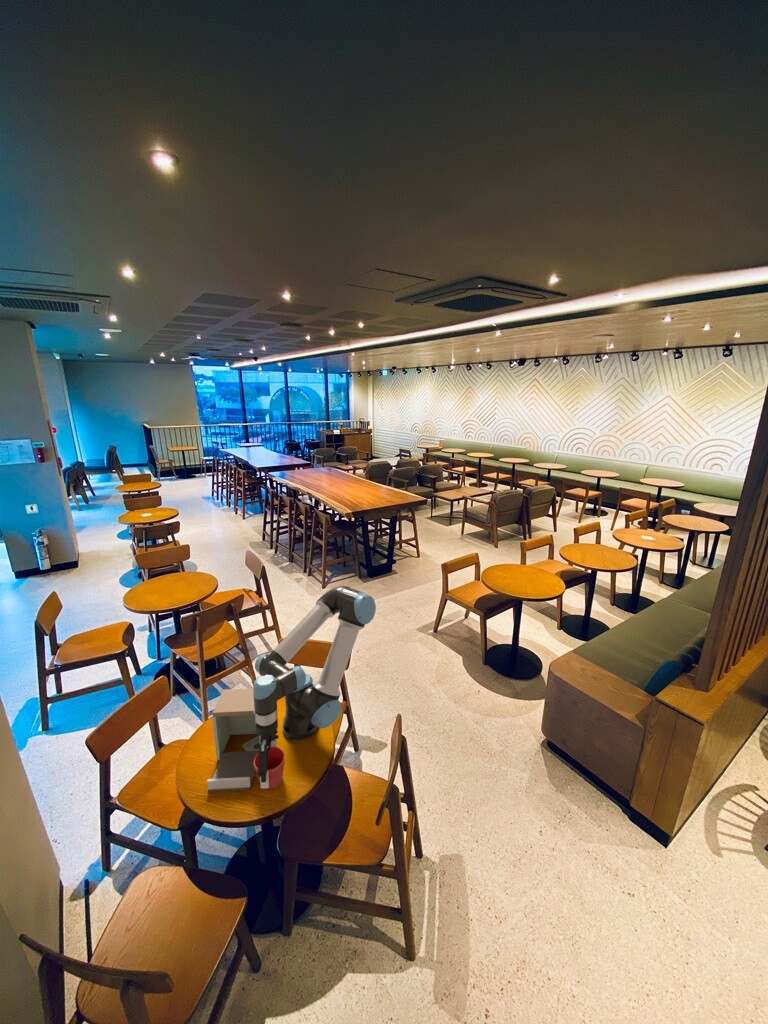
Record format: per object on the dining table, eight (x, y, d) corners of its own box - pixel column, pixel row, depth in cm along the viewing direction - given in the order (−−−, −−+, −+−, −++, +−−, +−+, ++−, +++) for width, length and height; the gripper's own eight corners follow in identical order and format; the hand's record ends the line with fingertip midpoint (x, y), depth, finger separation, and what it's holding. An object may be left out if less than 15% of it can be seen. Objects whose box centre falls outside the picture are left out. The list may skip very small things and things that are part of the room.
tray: (260, 756, 154) (259, 746, 154) (250, 789, 140) (249, 778, 139) (222, 758, 154) (221, 748, 153) (208, 791, 139) (207, 781, 138)
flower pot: (278, 796, 138) (276, 773, 136) (249, 790, 140) (247, 767, 138) (291, 771, 148) (290, 749, 146) (264, 766, 150) (262, 744, 148)
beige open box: (271, 730, 167) (268, 687, 163) (264, 757, 154) (260, 711, 149) (228, 732, 166) (224, 689, 162) (216, 760, 153) (211, 713, 148)
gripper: (263, 696, 150) (266, 744, 154) (245, 747, 126) (249, 802, 130) (283, 695, 151) (286, 743, 155) (269, 746, 126) (272, 801, 131)
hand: (269, 770), depth 143 cm, fingers open, 13 cm apart
